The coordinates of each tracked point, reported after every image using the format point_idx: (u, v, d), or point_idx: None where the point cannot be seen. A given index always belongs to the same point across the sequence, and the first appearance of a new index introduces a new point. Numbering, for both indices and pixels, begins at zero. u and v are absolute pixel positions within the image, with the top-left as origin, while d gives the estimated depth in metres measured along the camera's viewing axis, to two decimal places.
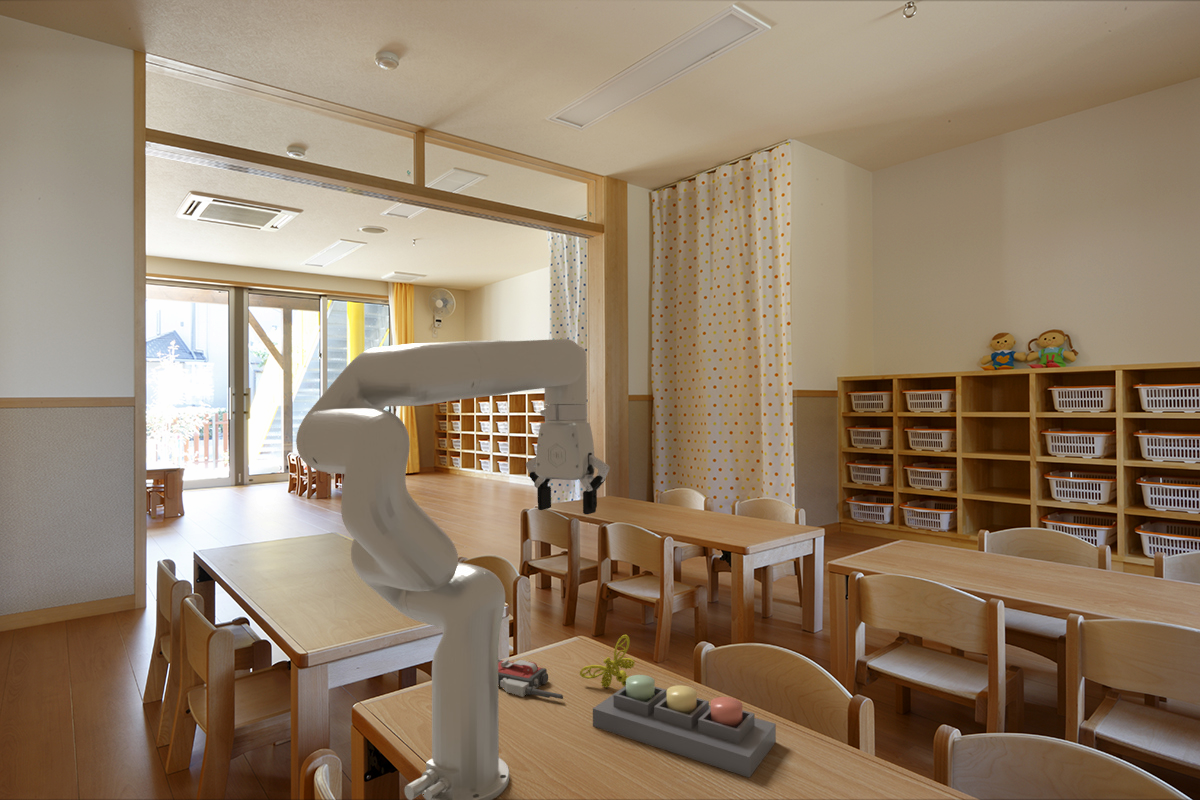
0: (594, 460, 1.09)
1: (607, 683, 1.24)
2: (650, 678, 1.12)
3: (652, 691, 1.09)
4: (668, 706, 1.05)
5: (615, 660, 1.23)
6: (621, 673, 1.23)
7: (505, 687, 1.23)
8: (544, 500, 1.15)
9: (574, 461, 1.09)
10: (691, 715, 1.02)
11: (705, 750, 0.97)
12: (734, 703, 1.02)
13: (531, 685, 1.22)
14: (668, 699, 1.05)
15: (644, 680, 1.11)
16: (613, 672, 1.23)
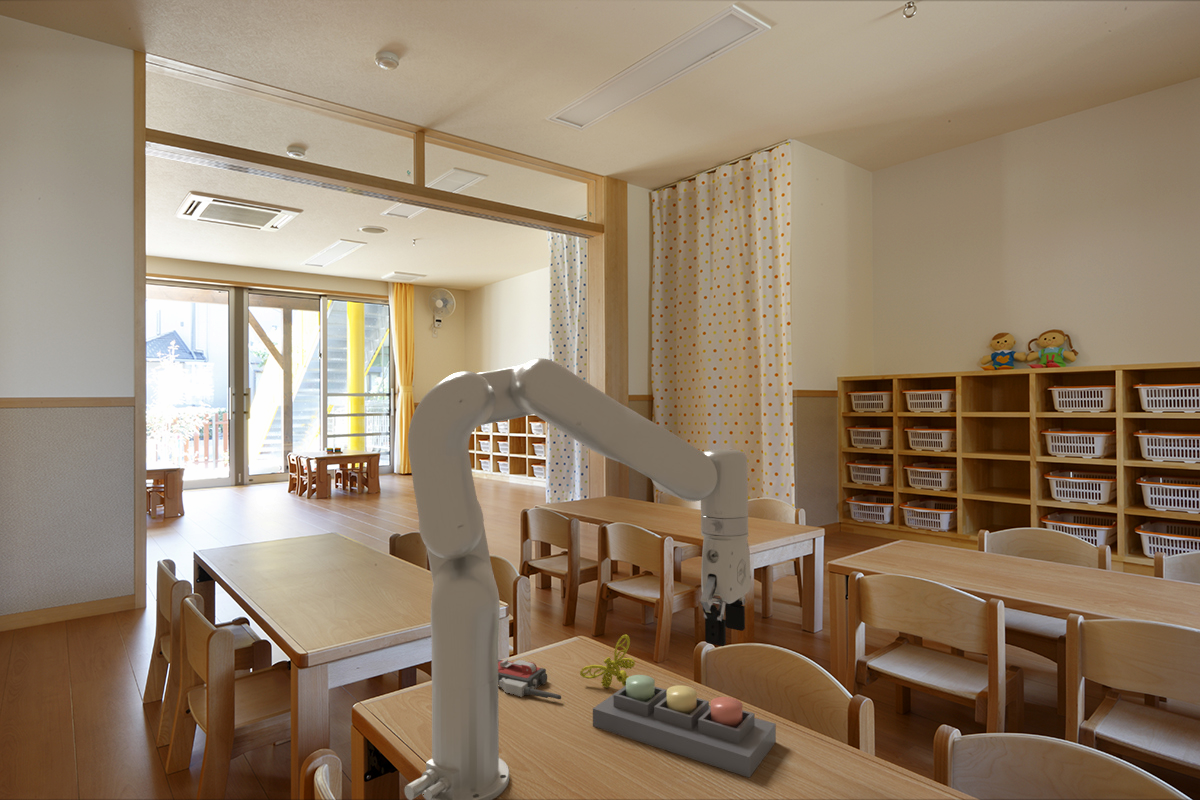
0: None
1: (607, 683, 1.24)
2: (650, 678, 1.12)
3: (652, 691, 1.09)
4: (668, 706, 1.05)
5: (615, 660, 1.23)
6: (621, 673, 1.23)
7: (504, 686, 1.23)
8: None
9: (749, 573, 1.04)
10: (691, 715, 1.02)
11: (705, 750, 0.97)
12: (734, 703, 1.02)
13: (530, 685, 1.22)
14: (668, 699, 1.05)
15: (644, 680, 1.11)
16: (613, 672, 1.24)
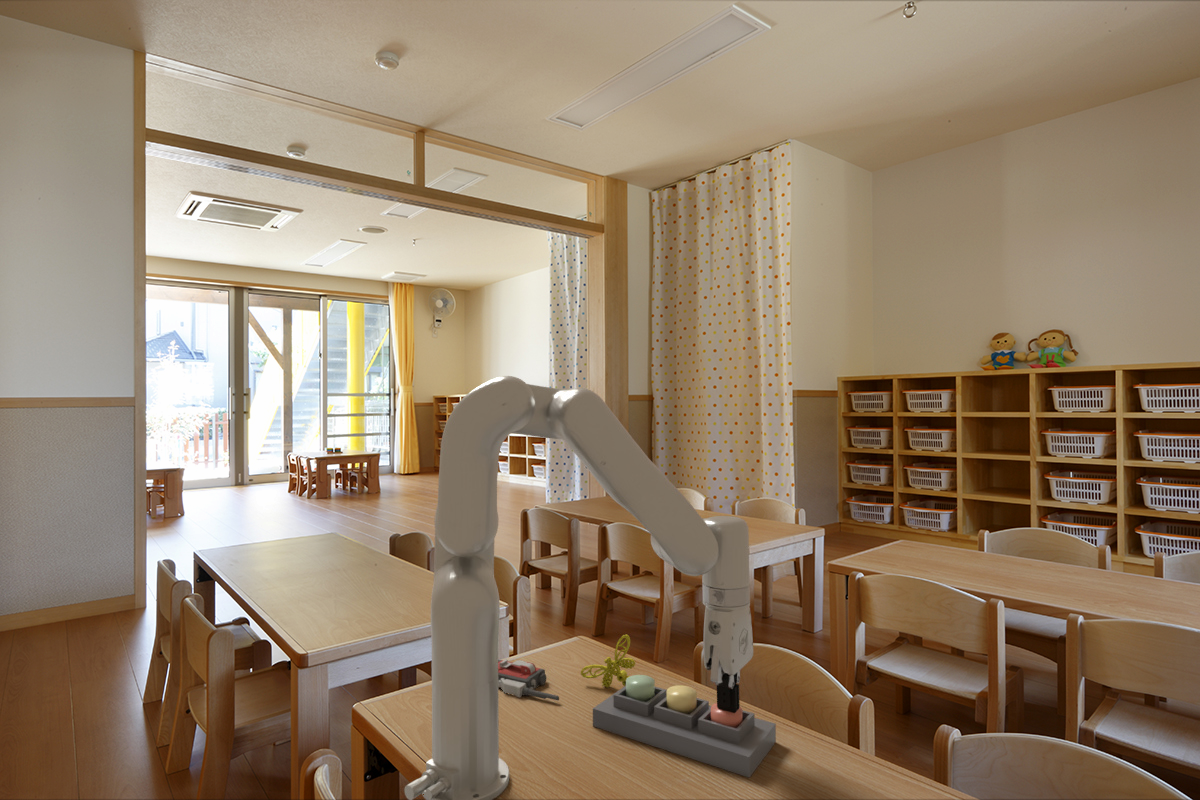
0: None
1: (608, 683, 1.24)
2: (650, 678, 1.12)
3: (652, 691, 1.09)
4: (668, 706, 1.05)
5: (616, 660, 1.24)
6: (622, 673, 1.24)
7: (502, 687, 1.23)
8: None
9: (751, 640, 1.03)
10: (691, 715, 1.02)
11: (705, 750, 0.97)
12: None
13: (528, 686, 1.22)
14: (668, 699, 1.05)
15: (644, 680, 1.11)
16: (614, 672, 1.24)
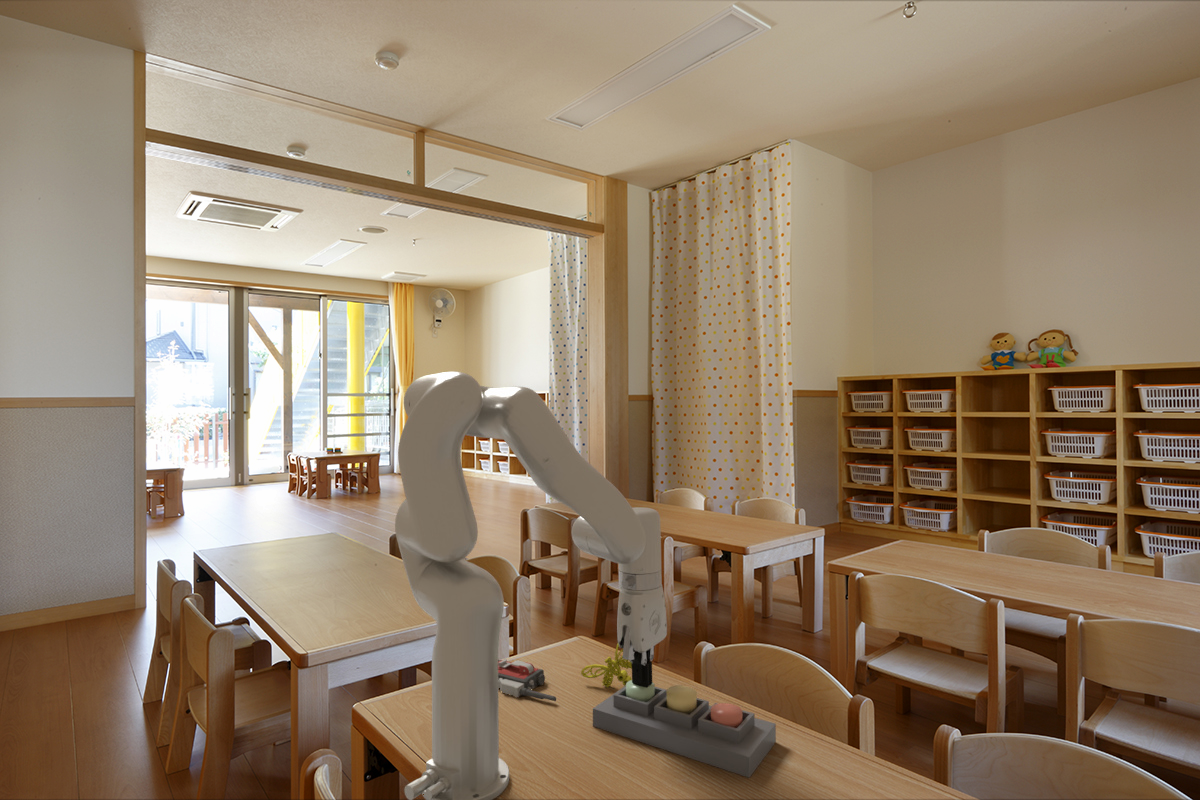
0: None
1: (608, 683, 1.24)
2: None
3: (652, 695, 1.09)
4: (668, 706, 1.05)
5: (616, 660, 1.24)
6: (622, 673, 1.24)
7: (501, 687, 1.23)
8: None
9: (664, 621, 1.12)
10: (691, 715, 1.02)
11: (705, 750, 0.97)
12: (734, 710, 1.02)
13: (526, 686, 1.22)
14: (668, 699, 1.05)
15: None
16: (614, 672, 1.24)
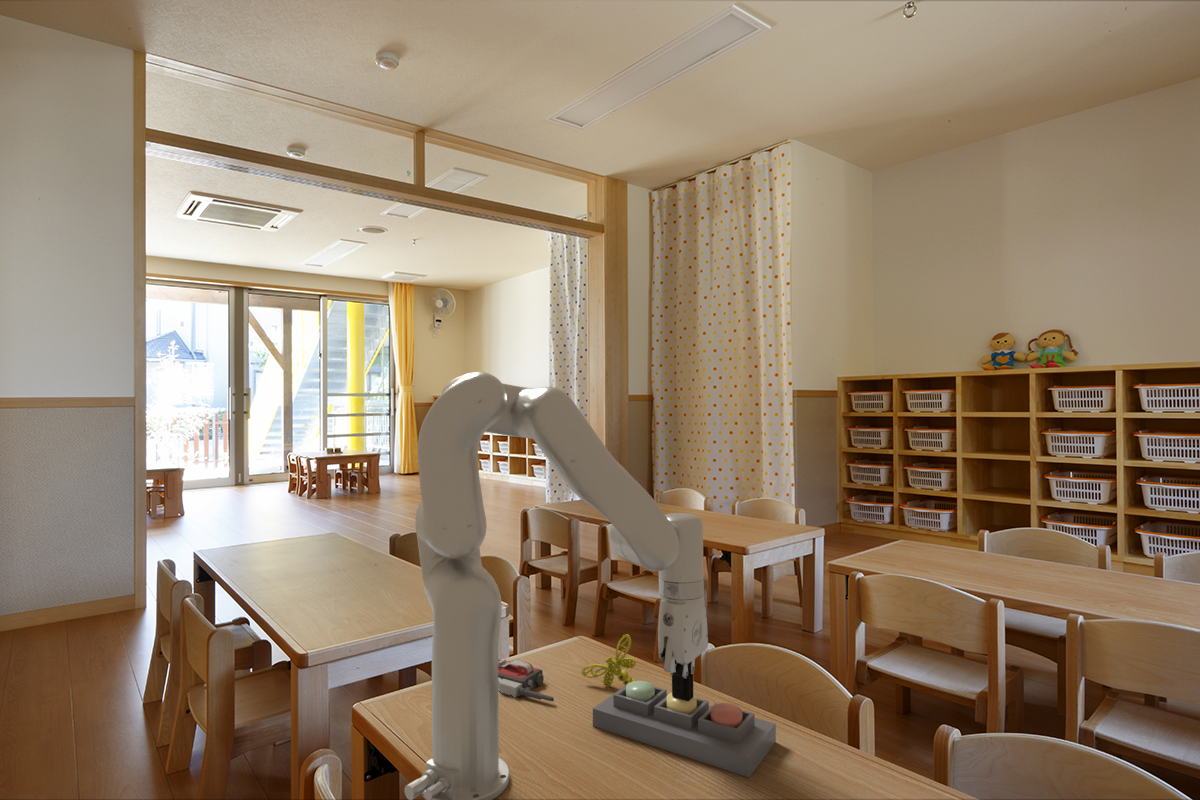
0: None
1: (609, 682, 1.24)
2: (650, 684, 1.12)
3: (652, 697, 1.09)
4: None
5: (617, 659, 1.24)
6: (623, 673, 1.24)
7: (499, 686, 1.23)
8: None
9: (705, 632, 1.08)
10: (691, 715, 1.02)
11: (705, 750, 0.97)
12: (734, 710, 1.02)
13: (524, 686, 1.22)
14: (668, 705, 1.05)
15: (644, 686, 1.11)
16: (615, 671, 1.24)
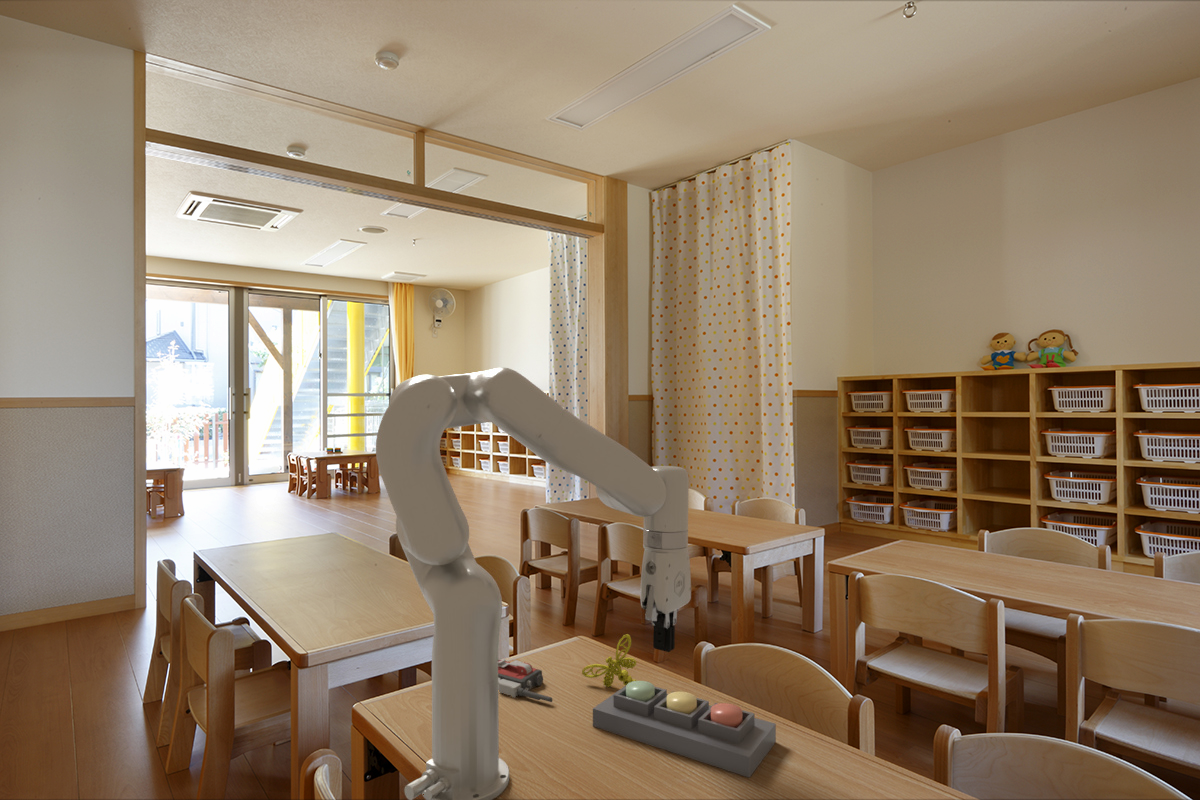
0: None
1: (609, 682, 1.24)
2: (650, 684, 1.12)
3: (652, 697, 1.09)
4: None
5: (617, 659, 1.24)
6: (623, 673, 1.24)
7: (498, 687, 1.23)
8: None
9: (688, 585, 1.08)
10: (691, 715, 1.02)
11: (705, 750, 0.97)
12: (734, 710, 1.02)
13: (523, 686, 1.22)
14: (668, 705, 1.05)
15: (644, 686, 1.11)
16: (615, 671, 1.24)
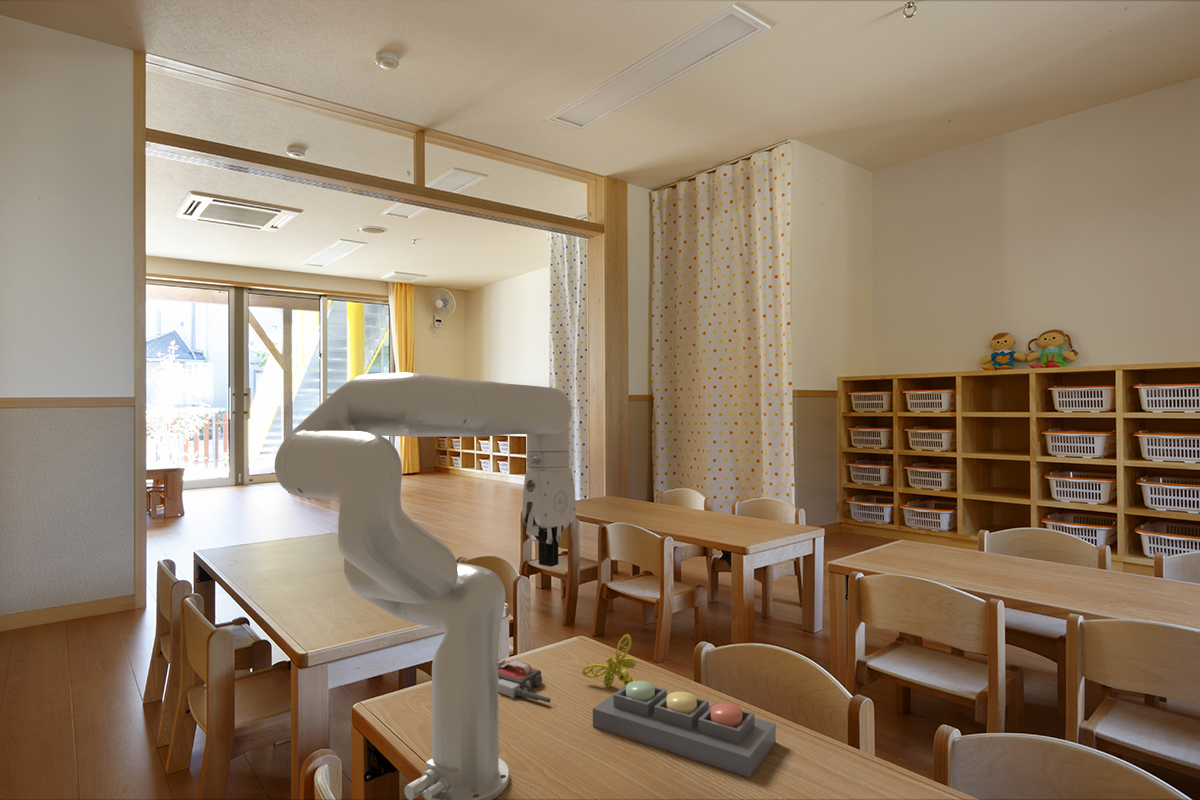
0: None
1: (609, 682, 1.25)
2: (650, 684, 1.12)
3: (652, 697, 1.09)
4: None
5: (617, 659, 1.24)
6: (623, 672, 1.24)
7: None
8: None
9: (572, 504, 1.14)
10: (691, 715, 1.02)
11: (705, 750, 0.97)
12: (734, 710, 1.02)
13: (522, 687, 1.22)
14: (668, 705, 1.05)
15: (644, 686, 1.11)
16: (615, 671, 1.24)
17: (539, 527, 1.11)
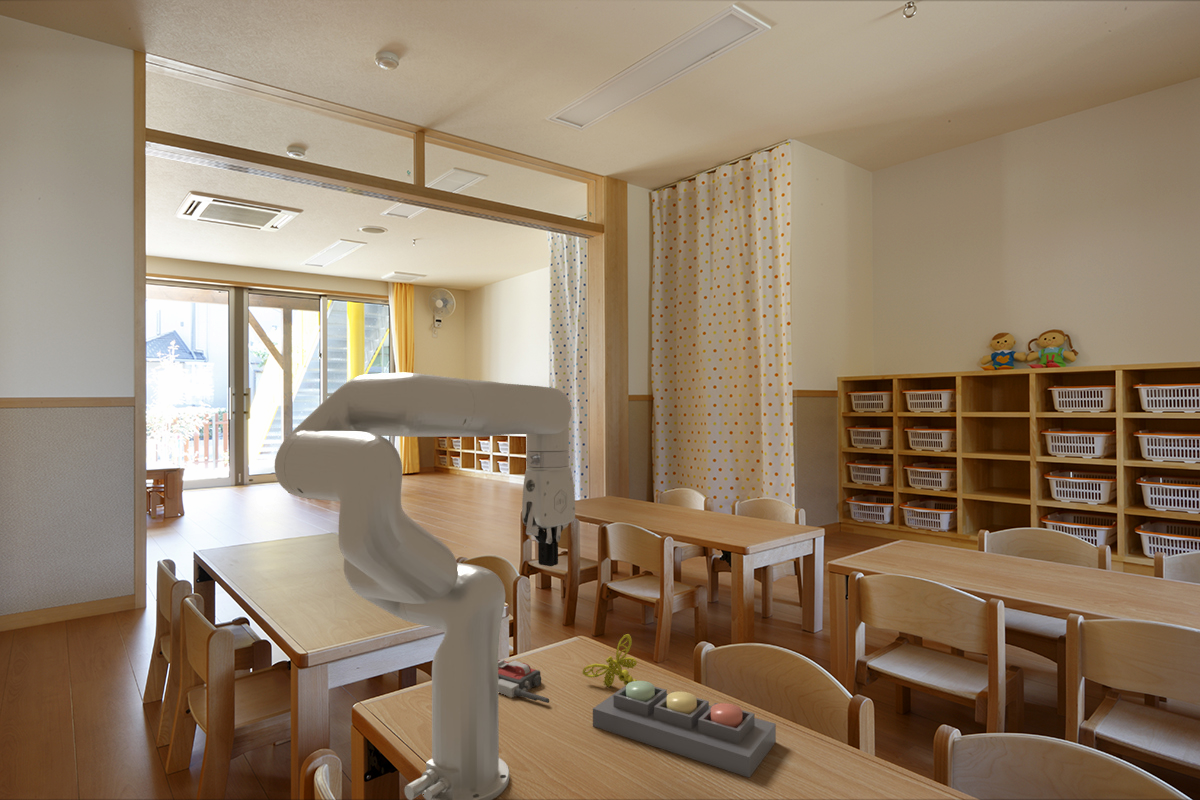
0: None
1: (609, 682, 1.25)
2: (650, 684, 1.12)
3: (652, 697, 1.09)
4: None
5: (617, 659, 1.24)
6: (623, 672, 1.24)
7: None
8: None
9: (572, 504, 1.14)
10: (691, 715, 1.02)
11: (705, 750, 0.97)
12: (734, 710, 1.02)
13: (521, 687, 1.22)
14: (668, 705, 1.05)
15: (644, 686, 1.11)
16: (615, 671, 1.24)
17: (539, 527, 1.11)
